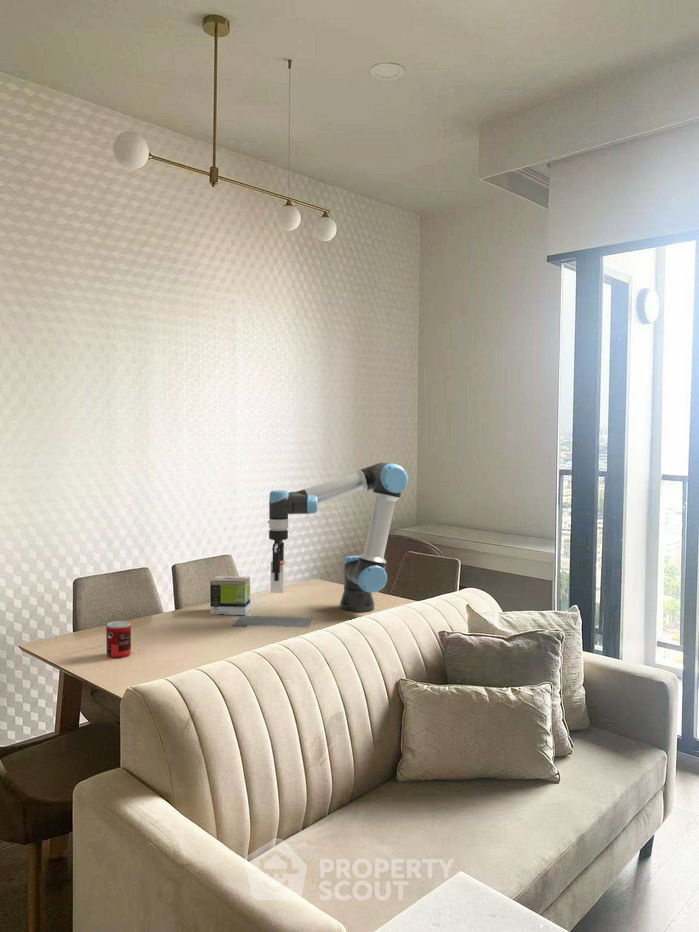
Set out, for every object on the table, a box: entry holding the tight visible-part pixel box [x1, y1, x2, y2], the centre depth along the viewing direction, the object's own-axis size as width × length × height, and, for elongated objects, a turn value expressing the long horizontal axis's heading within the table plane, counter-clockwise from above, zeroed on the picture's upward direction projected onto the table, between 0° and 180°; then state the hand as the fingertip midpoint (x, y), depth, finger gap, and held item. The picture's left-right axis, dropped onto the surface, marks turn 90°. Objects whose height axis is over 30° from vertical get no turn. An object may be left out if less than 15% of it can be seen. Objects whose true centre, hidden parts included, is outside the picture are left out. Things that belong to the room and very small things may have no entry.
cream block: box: [270, 560, 286, 594], centre depth 287 cm, size 5×5×12 cm
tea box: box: [209, 575, 251, 616], centre depth 304 cm, size 15×10×15 cm
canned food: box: [105, 620, 132, 659], centre depth 245 cm, size 8×8×11 cm
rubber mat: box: [232, 615, 314, 628], centre depth 289 cm, size 30×14×1 cm, turn 86°
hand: (278, 587), depth 287 cm, fingers closed on cream block, 5 cm apart
